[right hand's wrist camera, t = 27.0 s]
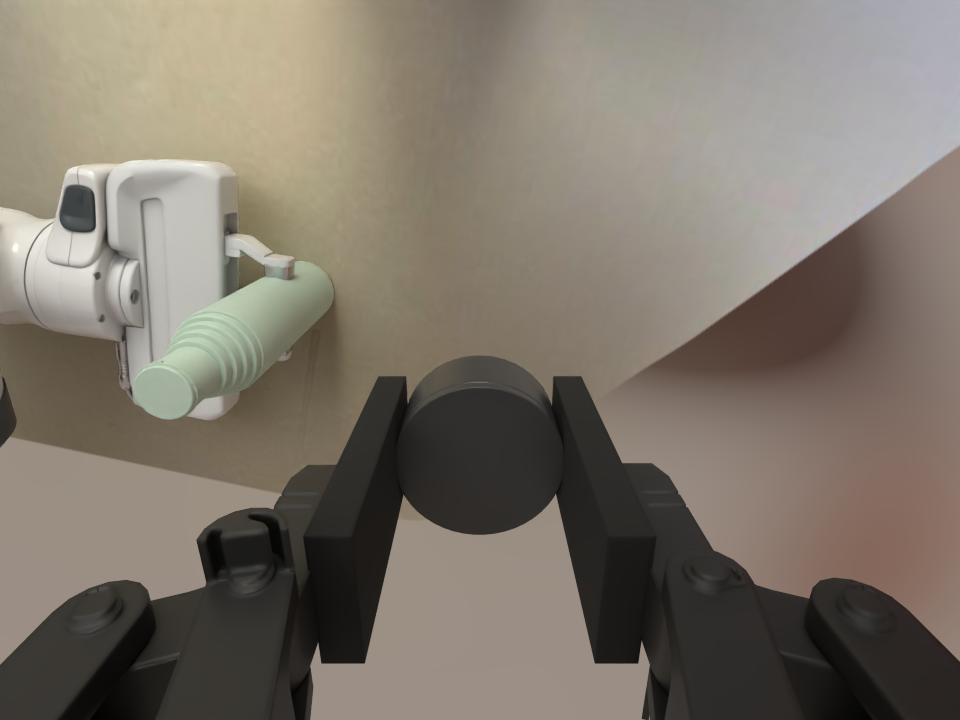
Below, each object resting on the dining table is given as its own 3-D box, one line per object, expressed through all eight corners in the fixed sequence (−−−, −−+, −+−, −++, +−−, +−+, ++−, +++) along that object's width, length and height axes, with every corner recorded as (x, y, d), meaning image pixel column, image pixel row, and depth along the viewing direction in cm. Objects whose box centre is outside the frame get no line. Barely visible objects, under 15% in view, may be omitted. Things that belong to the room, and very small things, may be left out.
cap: (397, 358, 14) (383, 392, 12) (552, 350, 14) (565, 382, 12) (413, 489, 15) (404, 539, 13) (554, 482, 15) (565, 531, 13)
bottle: (315, 251, 46) (175, 326, 25) (345, 305, 48) (238, 418, 26) (263, 275, 47) (84, 368, 25) (294, 327, 48) (150, 455, 27)
